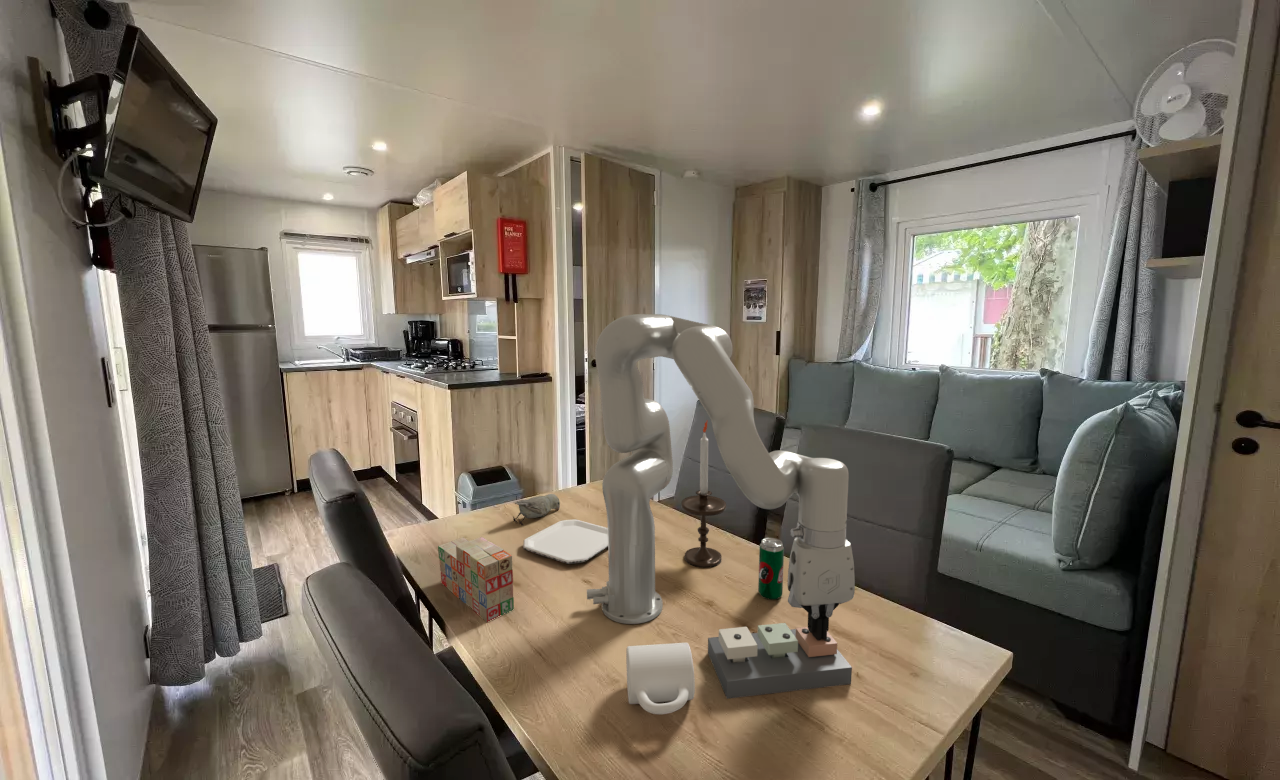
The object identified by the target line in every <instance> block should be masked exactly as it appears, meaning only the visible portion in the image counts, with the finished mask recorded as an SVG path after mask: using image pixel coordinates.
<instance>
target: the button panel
mask: <svg viewBox="0 0 1280 780" xmlns="http://www.w3.org/2000/svg"><path fill="white" fill-rule="evenodd" d="M790 630H791V632H792V633H793V634H794V636H796V628H794V629H791V628H790ZM750 633H751V635H752V636H753V638H754V640H755V642H756V643H757V656H755V657H745V662H736V663H731V661H730V659H727V657H726V655H725V653H724V650H723V648H722V646H721V644H720V642H719V636H713V637H708V638H707V654H708V657H709V659H710V661H711V665H712V666H713V667H712V668H714V669H713V670H714V672H715V673H716V676H717V678H718V681H719V683H720V686H721V688H722V690H723V693H724V695H725V697H726V699H736V698H744V697H752V696H761V695H771V694H778V693H786V692H794V691H795V692H796V691H803V690H811V689H820V688H829V687H838V686H845V685H851V684H852V675H853V667H852V666H851V664H850V663H849V662H848V660H847V659H846V658H845V657H844V656H843V654H842V653H841V652H840V651H839V650H838V648H837V654H833V655H824V656H815V657H808V655H807V654H806V653H805V651H804V650H803V648H802V647H801V646H800V644H799V643H798V652H792V653H785V657H782V658H773V659H772V658H771V656H770V655H769V654H768V653H767V651H766V649H765V648H764V646H763V644H762V643H761V641H760V639H759V638H758V632H753V633H752V632H750Z"/></svg>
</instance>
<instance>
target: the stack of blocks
mask: <svg viewBox="0 0 1280 780" xmlns="http://www.w3.org/2000/svg"><path fill="white" fill-rule="evenodd" d="M437 551H438V558H439V570H440V581H441V584H442V585H443V586H445V587H446V589H448V591H450V592H451V593H452V594H453V595H454V596H455V597H456V598H458V599H459V598H460V599H459V600H461V602H462V603H464V604H465V603H466V605H467V606H468V607H469V606H470V607H471V608H472V609H473V610H474V611H475V612H476V613H475V612H474V611H473V610H472V609H471V608H470V607H469V608H470V609H471V610H472V611H473V612H474V613H475V614H477V613H478V614H479V615H480V616H481V617H482V618H483V619H484V620H485V621H484V620H483V619H482V618H481V617H480V616H479V615H478V614H477V615H478V616H479V617H480V618H481V619H482V620H483V621H484V622H486V623H489V622H488V621H490V620H492V619H494V618H496V617H498V616H500V615H502V616H504V615H505V614H504V613H506V614H508V613H510V612H509V611H511V612H513V611H514V610H515V604H514V603H515V600H514V599H515V598H514V573H513V570H514V569H513V555H512V554H510V553H509V552H507V551H506V550H504V548H502V547H501V546H499V545H497V544H495V543H494V542H491V541H489V540H488V539H486V538H484V537H483V536H481V537H480V536H479V537H477V538H475V539H472V540H468V539H466V538H465V537H461V538H458V539H457V538H456V539H454V540H451V541H449V542H446V543H443V544H440V545H438V546H437ZM513 609H514V610H513ZM512 610H513V611H512ZM507 612H508V613H507ZM503 614H504V615H503ZM500 617H501V616H500ZM498 618H499V617H498ZM496 619H497V618H496ZM494 620H495V619H494ZM492 621H493V620H492ZM490 622H491V621H490Z"/></svg>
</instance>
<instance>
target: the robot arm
mask: <svg viewBox="0 0 1280 780" xmlns="http://www.w3.org/2000/svg"><path fill="white" fill-rule="evenodd" d="M733 347H734V346H733V343H732V340H731V337H730V335H729V334H728V333H727V332H726V331H725V330H724V329H722V328H720V327H718V326H717V325H712V324H708V323H707V324H706V323H703V322H698V321H693V320H689V319H686V318H685V319H684V318H681V317H677V316H672V315H669V314H668V315H667V314H661V313H660V314H659V313H657V314H656V313H654V314H653V313H652V314H651V313H649V314H647V313H638V314H635V313H634V314H628V315H623V316H621V317H618V318H616V319H615V320H613V321H611V322H610V323H608V324H607V325H606V326H605V328H603V330H602V331H601V332H600V334H599V336H598V338H597V341H596V344H595V351H594V356H595V364H596V371H597V375H598V376H597V377H598V383H599V390H600V401H601V402H600V403H601V414H602V424H603V433H604V438H605V441H606V444H607V445H608V447H609V448H610V449H611V450H612V451H613V452H615V453H618V454H620V453H621V454H627V453H631V455H628V456H626V457H624V458H622V459H620V460H618V461H617V462H615V463H613V464H612V465H611V466H610V467H609V468H608V469H607V471H606V472H605V474H604V476H603V479H602V484H601V485H602V489H601V490H602V495H603V500H604V504H605V509H606V510H605V511H606V518H607V519H606V520H607V523H606V524H607V528H608V547H607V549H608V556H607V557H608V580H606V582H605V583H606V586H602V587H601V588H589V589H586V599H587V600H593V603H592V604H593V605H600V604H601V610H602V612H603V614H604V615H605V616H606V617H607V619H609V620H612V621H614V622H617V623H620V624H625V625H626V624H627V625H637V624H643V623H647V622H650V621H651V620H653V619H655V618H657V617H658V616H659V615H660V614H661V612H662V611H663V605H664V604H663V599H662V596H661V595H660V594H659V593H658V592H657V591H656V535H655V534H656V532H655V531H656V529H655V528H656V526H655V517H654V515H653V512H652V508H651V506H650V505H651V504H650V502H651V499H652V498H653V497H654V496H656V495H657V494H659V493H660V492H661V491H663V490H665V488H666V487H667V486H668V485H669V484H670V482H671V480H672V477H673V473H674V464H673V462H674V460H673V450H672V449H673V448H672V440H671V439H672V437H671V428H670V421H669V418H668V415H667V412H666V411H665V409H664V407H663V406H662V405H661V404H660V403H659V402H658V401H656V400H654V399H651V398H646V397H645V394H644V382H643V378H642V375H641V371H640V370H639V368H638V365H637V363H638V362H639V361H641V360H645V359H653V358H657V357H658V358H660V357H662V358H667V359H671V360H673V361H674V363H675V365H676V366H677V367H678V369H679V371H680V373H681V374H682V376H683V377H684V379H685V380H686V382H687V384H688V385H689V387H690V388H691V390H692V391H693V393H694V394H695V396H696V397H697V399H698V401H699V402H700V404H701V405H702V407H703V408H704V410H705V412H706V414H707V415H708V418H710V420H711V426H712V430H713V434H714V438H715V441H716V444H717V448H718V450H719V453H720V456H721V459H722V461H723V463H724V465H725V467H726V468H727V471H728V472H729V473H730V475H731V476H732V478H733V480H734V482H735V483H736V485H737V486H738V487H739V489H740V491H741V492H742V494H743V495H744V496H745V497H746V498H747V500H748V501H750V503H752V504H754V505H755V506H756V507H758V508H761V509H764V510H774V509H777V508H780V507H782V506H783V505H784V504H785V503H787V501H788V500H789V499H790V498H791V496H793V495H797V496H798V519H797V521H796V527H794V528H791V529H790V536H791V537H792V538H793V539H794V540H793V543H792V546H791V551H790V556H789V561H788V562H789V563H788V568H787V569H788V570H787V590H788V591H789V594H788V596H787V597H788V598H787V603H788V604H789V606H791V607H792V608H796V609H797V608H798V609H801V608H802V609H803V610H804V611H806V612H807V627H808V630H809V631H810V633H812V634H813V636H814V637H815V638H816V640H821V639H823V640H825V639H827V631H828V632H829V629H830V627H829V626H830V625H829V624H830V618H831V617H832V616H833V615H834V614H833V613H834V611H835V610H836V608H837V607H838V606H839V605H841V604H844V603H848V602H850V601H852V600H853V599H854V596H855V591H856V589H855V587H856V584H855V583H856V582H855V581H856V580H855V579H856V578H855V576H856V575H855V564H854V557H853V550H852V549H853V548H852V545H851V542H850V541H848V539H847V522H848V519H847V517H848V516H847V514H848V495H849V469H848V467H847V465H846V464H845V463H844V462H842V461H839V460H837V459H834V458H829V457H810V456H806V455H802V454H798V453H794V452H792V451H788V450H781V449H780V450H778V449H777V450H773V451H771V452H769V451H768V449H767V448H766V446H765V445H764V443H763V441H762V438H761V437H760V435H759V432H758V429H757V426H756V422H755V416H754V415H755V413H754V410H755V409H754V408H755V406H754V404H755V401H754V394H753V392H752V390H751V388H750V387H749V386H748V384H747V383H746V381H745V379H744V378H743V377H742V375H741V374H740V372H739V371H738V369H737V368H736V366H735V365H734V363H733V361H732V359H731V357H732V355H733Z"/></svg>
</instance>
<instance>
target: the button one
mask: <svg viewBox="0 0 1280 780" xmlns="http://www.w3.org/2000/svg"><path fill="white" fill-rule="evenodd" d="M751 633H752V632H751V631H750V630H749V628H748V627H747V626H739V627H729V628H720V629H718V637H719V642H720V644H721V646H722V648H723V650H724V653H725V655H726V657H727V659H730V661H731V663H736V662H745V657H755V656H757V643H756V642H755V640H754V638H753V636H752V635H751Z"/></svg>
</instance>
